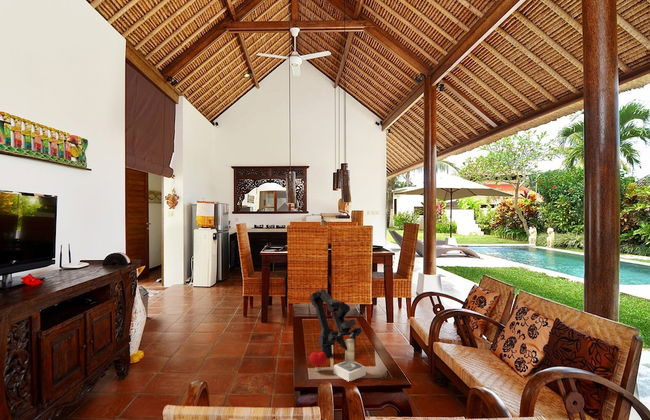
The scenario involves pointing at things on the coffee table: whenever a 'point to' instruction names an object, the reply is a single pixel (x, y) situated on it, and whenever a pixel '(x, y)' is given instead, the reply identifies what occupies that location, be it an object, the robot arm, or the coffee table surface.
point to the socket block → (349, 370)
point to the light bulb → (318, 359)
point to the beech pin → (349, 350)
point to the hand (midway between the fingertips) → (350, 349)
